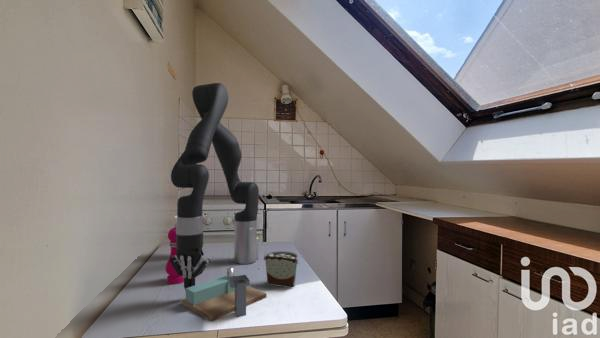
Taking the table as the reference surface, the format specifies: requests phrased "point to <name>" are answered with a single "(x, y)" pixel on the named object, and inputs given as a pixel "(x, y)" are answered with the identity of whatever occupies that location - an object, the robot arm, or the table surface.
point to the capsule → (229, 272)
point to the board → (223, 304)
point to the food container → (281, 268)
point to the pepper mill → (172, 274)
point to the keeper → (239, 292)
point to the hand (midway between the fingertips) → (189, 290)
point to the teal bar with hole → (208, 290)
